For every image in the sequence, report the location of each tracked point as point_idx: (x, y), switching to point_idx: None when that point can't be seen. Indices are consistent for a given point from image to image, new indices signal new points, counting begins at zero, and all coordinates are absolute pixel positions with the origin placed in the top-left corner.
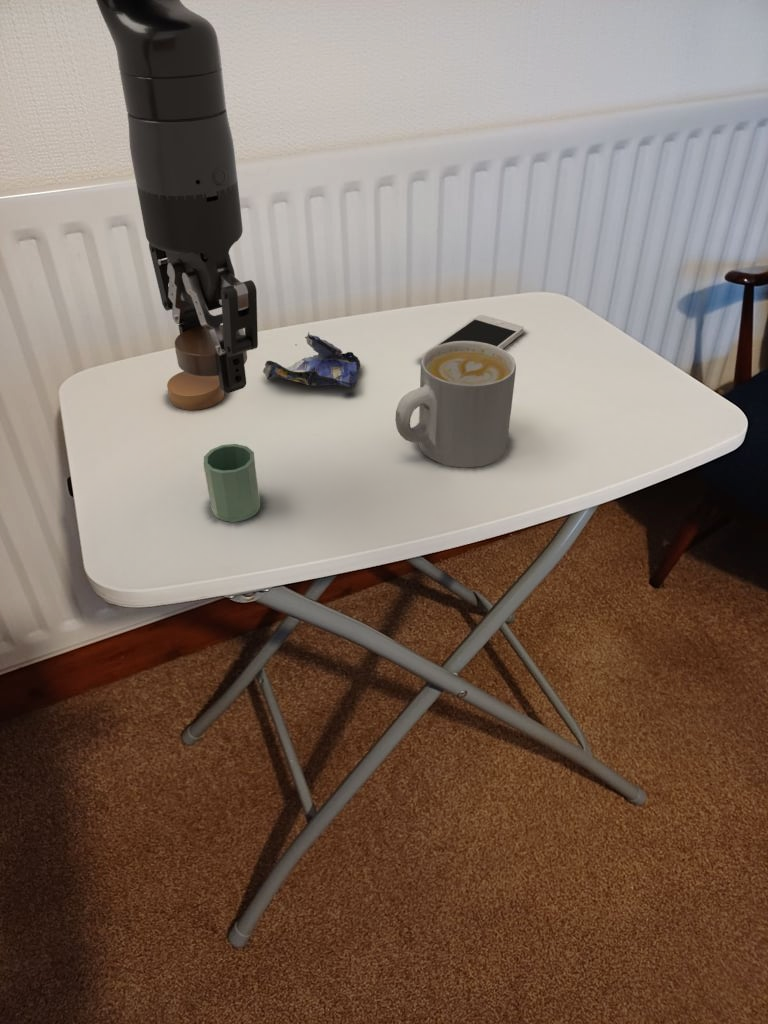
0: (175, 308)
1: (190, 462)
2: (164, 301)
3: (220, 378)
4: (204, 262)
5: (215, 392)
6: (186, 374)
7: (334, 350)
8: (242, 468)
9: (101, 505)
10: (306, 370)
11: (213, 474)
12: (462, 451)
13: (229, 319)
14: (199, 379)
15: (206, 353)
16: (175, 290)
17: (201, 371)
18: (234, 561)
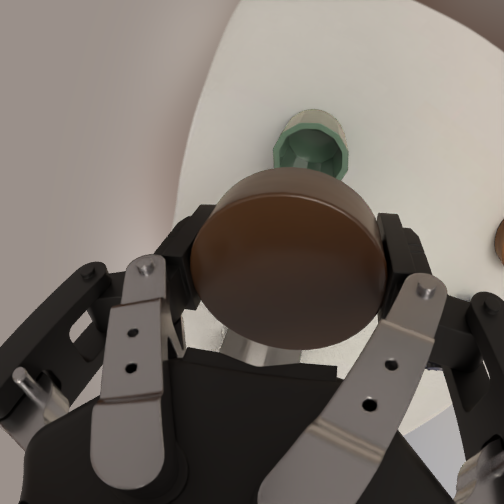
0: (421, 315)
1: (431, 148)
2: (493, 313)
3: (198, 217)
4: (25, 499)
5: (500, 250)
6: None
7: (432, 365)
8: (274, 160)
9: (421, 22)
10: None
11: (296, 123)
12: (229, 334)
13: (15, 334)
14: None
15: (205, 240)
16: (344, 392)
17: (223, 196)
18: (226, 89)
